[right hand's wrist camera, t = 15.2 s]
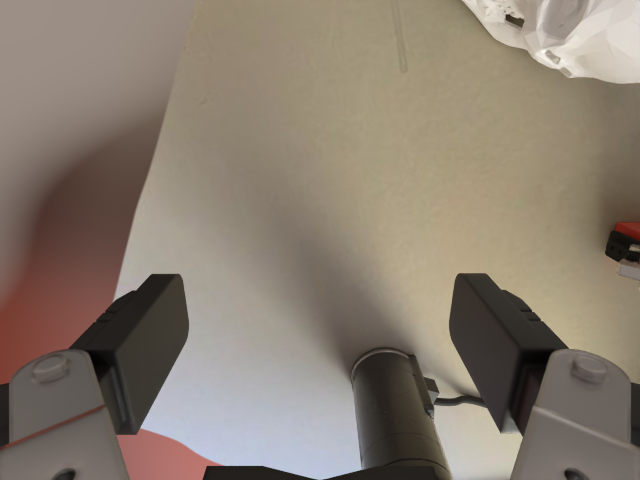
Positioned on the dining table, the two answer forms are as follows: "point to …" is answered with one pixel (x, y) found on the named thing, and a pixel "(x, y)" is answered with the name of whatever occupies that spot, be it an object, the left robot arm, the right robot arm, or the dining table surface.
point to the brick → (629, 229)
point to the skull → (570, 34)
